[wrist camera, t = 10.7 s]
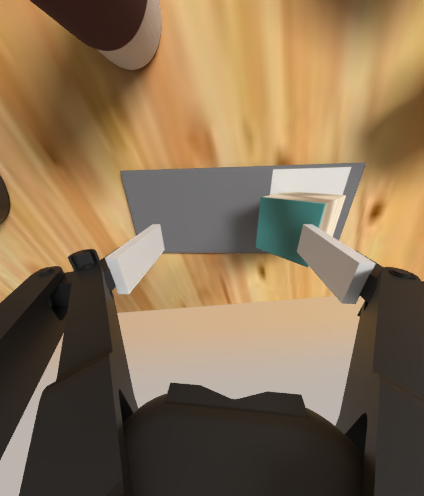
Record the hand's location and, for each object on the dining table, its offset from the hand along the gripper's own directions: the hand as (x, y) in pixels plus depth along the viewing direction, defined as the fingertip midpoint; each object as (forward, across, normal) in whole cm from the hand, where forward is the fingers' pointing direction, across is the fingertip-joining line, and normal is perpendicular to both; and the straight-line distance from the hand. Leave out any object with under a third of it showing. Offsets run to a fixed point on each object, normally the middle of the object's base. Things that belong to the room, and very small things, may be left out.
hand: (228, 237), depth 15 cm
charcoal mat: (+9, +1, 0) cm, 9 cm away
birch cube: (+2, +6, 0) cm, 6 cm away
